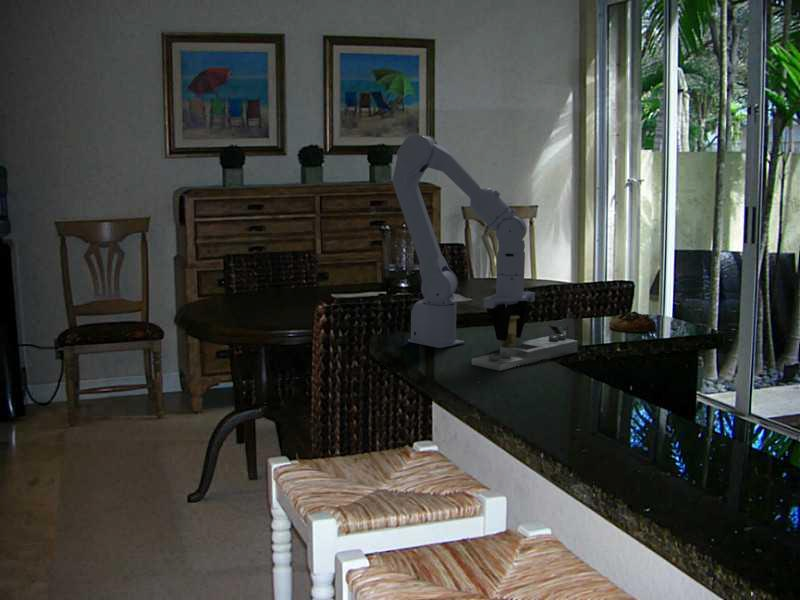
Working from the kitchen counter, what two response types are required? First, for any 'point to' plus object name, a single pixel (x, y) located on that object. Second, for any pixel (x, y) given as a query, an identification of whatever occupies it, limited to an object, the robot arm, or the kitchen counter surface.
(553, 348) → the right chain end
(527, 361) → the square window plate
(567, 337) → the caliper
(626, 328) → the bread roll
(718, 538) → the kitchen counter surface
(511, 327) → the pin
